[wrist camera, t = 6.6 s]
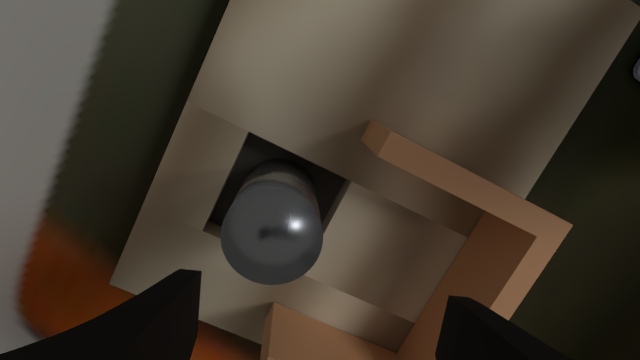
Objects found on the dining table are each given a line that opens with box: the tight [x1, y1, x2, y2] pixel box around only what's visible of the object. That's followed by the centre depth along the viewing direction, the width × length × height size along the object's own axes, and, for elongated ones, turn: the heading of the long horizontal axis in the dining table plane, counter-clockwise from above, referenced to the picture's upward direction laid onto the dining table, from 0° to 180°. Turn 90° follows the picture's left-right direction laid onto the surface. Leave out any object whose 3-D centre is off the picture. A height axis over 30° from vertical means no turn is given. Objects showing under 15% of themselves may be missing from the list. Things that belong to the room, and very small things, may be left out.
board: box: [109, 0, 640, 353], centre depth 19 cm, size 16×22×2 cm
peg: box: [220, 158, 323, 285], centre depth 17 cm, size 4×4×6 cm
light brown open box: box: [260, 120, 573, 360], centre depth 18 cm, size 8×11×4 cm
